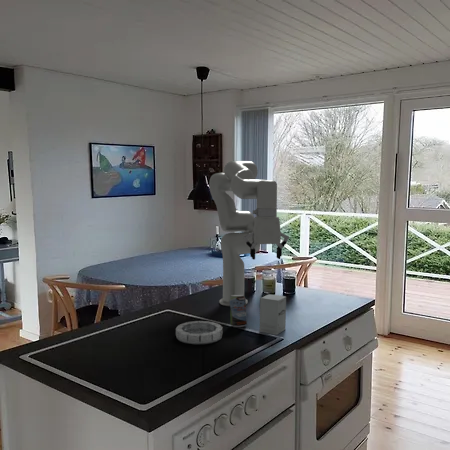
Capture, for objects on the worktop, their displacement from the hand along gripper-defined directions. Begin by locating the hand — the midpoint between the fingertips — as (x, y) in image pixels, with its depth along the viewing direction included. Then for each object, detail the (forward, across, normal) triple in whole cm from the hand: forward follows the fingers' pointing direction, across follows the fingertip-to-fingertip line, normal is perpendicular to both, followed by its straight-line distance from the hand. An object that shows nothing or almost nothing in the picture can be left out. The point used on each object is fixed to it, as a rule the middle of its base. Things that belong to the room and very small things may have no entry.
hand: (265, 258), depth 172 cm
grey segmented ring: (+25, -26, -10) cm, 38 cm away
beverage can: (+26, -11, -1) cm, 28 cm away
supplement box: (+26, +1, -8) cm, 27 cm away
